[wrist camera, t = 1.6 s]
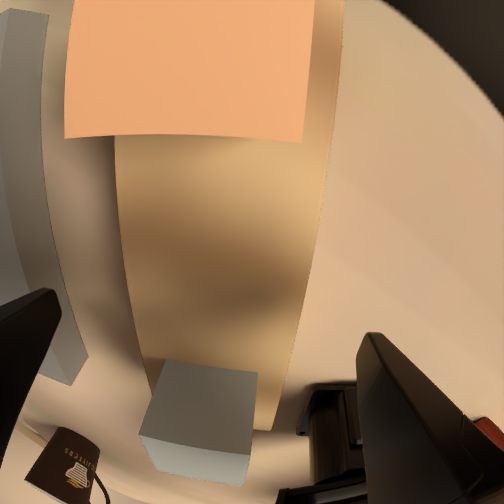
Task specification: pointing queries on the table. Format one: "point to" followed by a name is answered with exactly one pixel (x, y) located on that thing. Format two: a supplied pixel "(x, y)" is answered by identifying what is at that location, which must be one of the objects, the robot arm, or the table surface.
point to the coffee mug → (67, 468)
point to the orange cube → (188, 68)
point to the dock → (29, 189)
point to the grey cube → (201, 422)
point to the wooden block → (228, 234)
